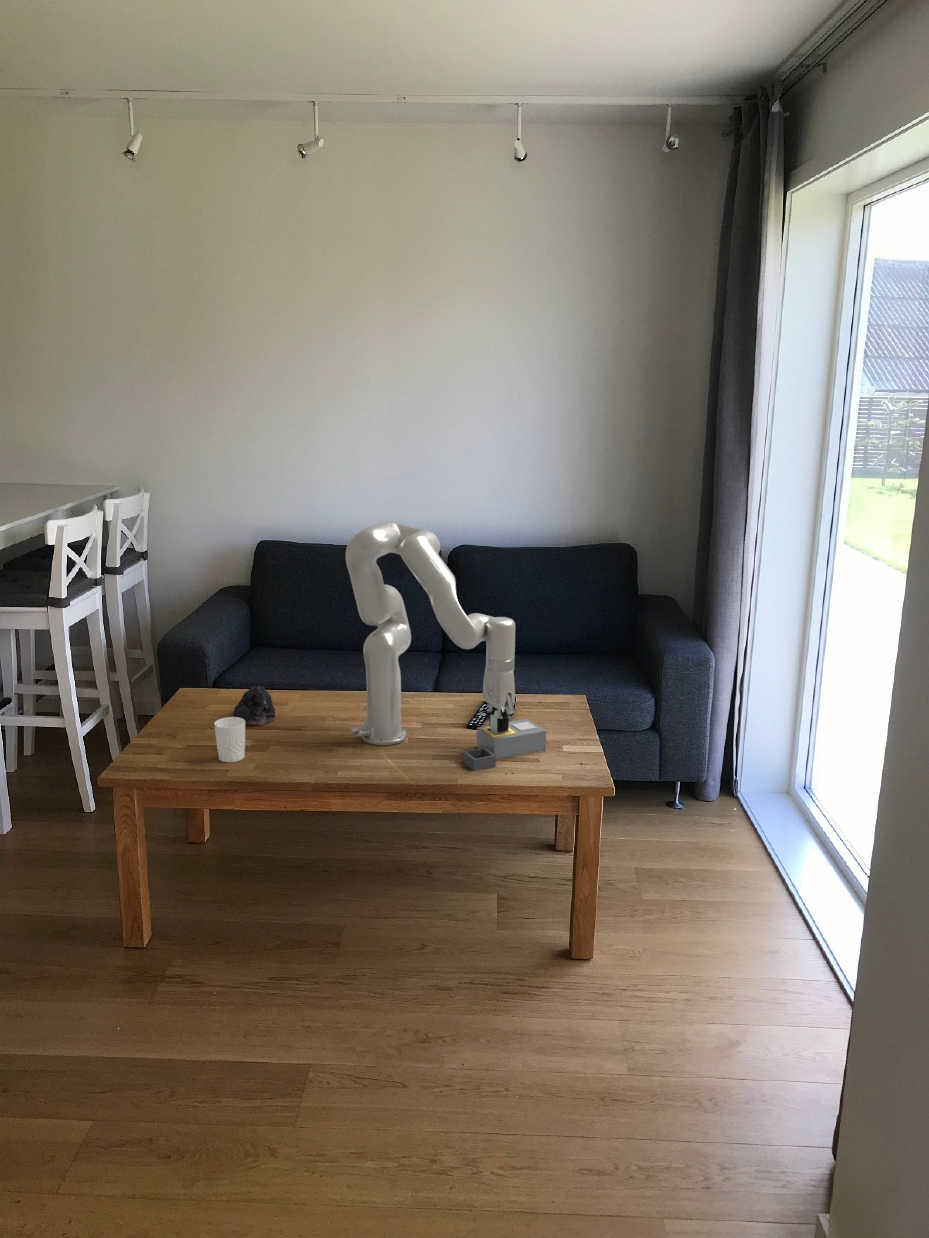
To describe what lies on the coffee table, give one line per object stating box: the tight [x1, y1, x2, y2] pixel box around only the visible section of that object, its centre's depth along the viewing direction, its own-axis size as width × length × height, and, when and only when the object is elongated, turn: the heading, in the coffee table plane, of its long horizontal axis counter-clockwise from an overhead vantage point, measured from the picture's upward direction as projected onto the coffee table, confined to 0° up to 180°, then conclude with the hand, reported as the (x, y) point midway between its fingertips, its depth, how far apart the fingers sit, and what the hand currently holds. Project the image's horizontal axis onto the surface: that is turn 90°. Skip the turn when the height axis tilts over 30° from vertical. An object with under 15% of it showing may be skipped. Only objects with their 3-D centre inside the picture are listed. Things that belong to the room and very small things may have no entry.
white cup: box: [213, 716, 246, 763], centre depth 244 cm, size 8×8×10 cm
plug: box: [489, 709, 508, 735], centre depth 250 cm, size 4×4×10 cm
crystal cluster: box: [232, 685, 276, 726], centre depth 273 cm, size 13×14×10 cm
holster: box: [462, 747, 497, 772], centre depth 242 cm, size 6×6×4 cm
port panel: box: [476, 718, 547, 760], centre depth 253 cm, size 16×10×6 cm, turn 117°
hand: (498, 728), depth 250 cm, fingers closed on plug, 3 cm apart
